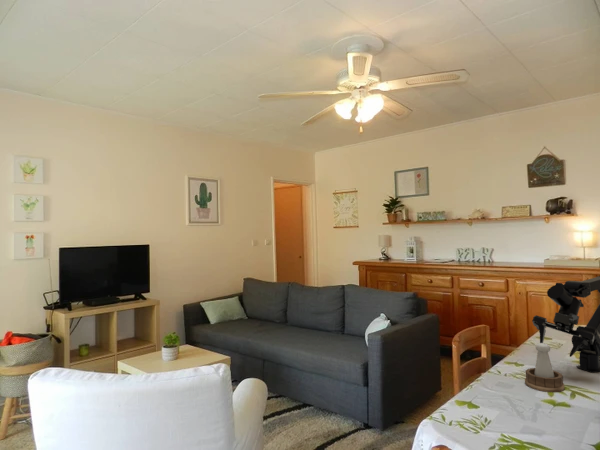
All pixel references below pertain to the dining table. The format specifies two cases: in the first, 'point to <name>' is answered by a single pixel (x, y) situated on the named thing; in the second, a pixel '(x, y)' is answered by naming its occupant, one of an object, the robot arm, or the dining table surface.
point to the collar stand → (544, 381)
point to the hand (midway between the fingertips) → (555, 351)
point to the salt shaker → (543, 361)
